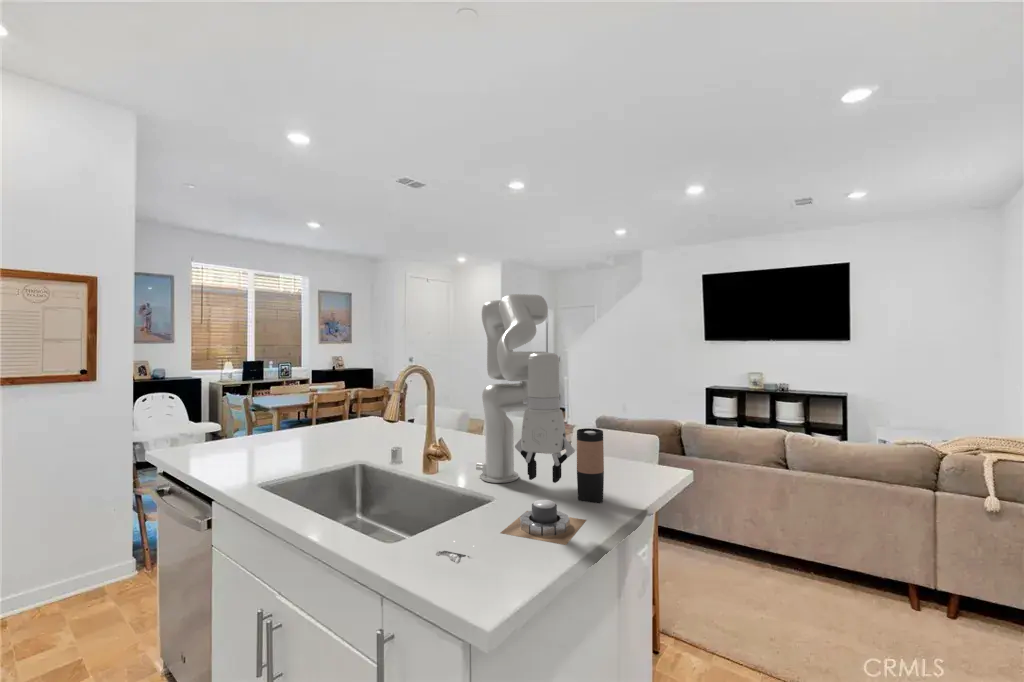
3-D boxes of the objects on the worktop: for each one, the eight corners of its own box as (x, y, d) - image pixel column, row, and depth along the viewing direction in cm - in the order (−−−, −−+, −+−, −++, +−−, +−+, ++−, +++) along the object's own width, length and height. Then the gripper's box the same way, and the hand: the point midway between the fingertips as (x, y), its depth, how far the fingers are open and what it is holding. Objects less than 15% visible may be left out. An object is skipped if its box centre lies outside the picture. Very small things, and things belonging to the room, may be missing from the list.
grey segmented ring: (512, 530, 110) (512, 522, 110) (531, 514, 120) (531, 506, 120) (559, 539, 105) (559, 530, 105) (575, 521, 115) (575, 513, 115)
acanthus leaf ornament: (454, 545, 106) (454, 537, 106) (478, 552, 102) (478, 544, 103) (431, 558, 100) (431, 549, 100) (457, 566, 96) (457, 557, 96)
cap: (527, 528, 111) (528, 505, 111) (536, 519, 116) (536, 498, 116) (552, 532, 108) (552, 509, 109) (560, 523, 114) (560, 501, 114)
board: (499, 538, 109) (499, 532, 109) (527, 515, 123) (527, 510, 123) (566, 550, 102) (565, 544, 102) (586, 524, 116) (586, 519, 116)
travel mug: (587, 494, 140) (587, 427, 140) (609, 500, 134) (608, 430, 134) (571, 500, 134) (571, 430, 135) (593, 507, 129) (593, 434, 129)
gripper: (504, 404, 113) (505, 479, 113) (573, 407, 106) (573, 488, 106) (517, 400, 120) (518, 472, 120) (582, 404, 112) (583, 479, 112)
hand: (544, 479), depth 113 cm, fingers open, 5 cm apart
